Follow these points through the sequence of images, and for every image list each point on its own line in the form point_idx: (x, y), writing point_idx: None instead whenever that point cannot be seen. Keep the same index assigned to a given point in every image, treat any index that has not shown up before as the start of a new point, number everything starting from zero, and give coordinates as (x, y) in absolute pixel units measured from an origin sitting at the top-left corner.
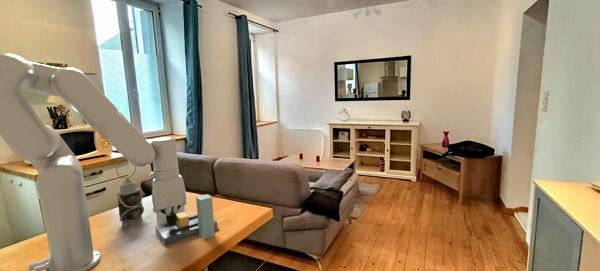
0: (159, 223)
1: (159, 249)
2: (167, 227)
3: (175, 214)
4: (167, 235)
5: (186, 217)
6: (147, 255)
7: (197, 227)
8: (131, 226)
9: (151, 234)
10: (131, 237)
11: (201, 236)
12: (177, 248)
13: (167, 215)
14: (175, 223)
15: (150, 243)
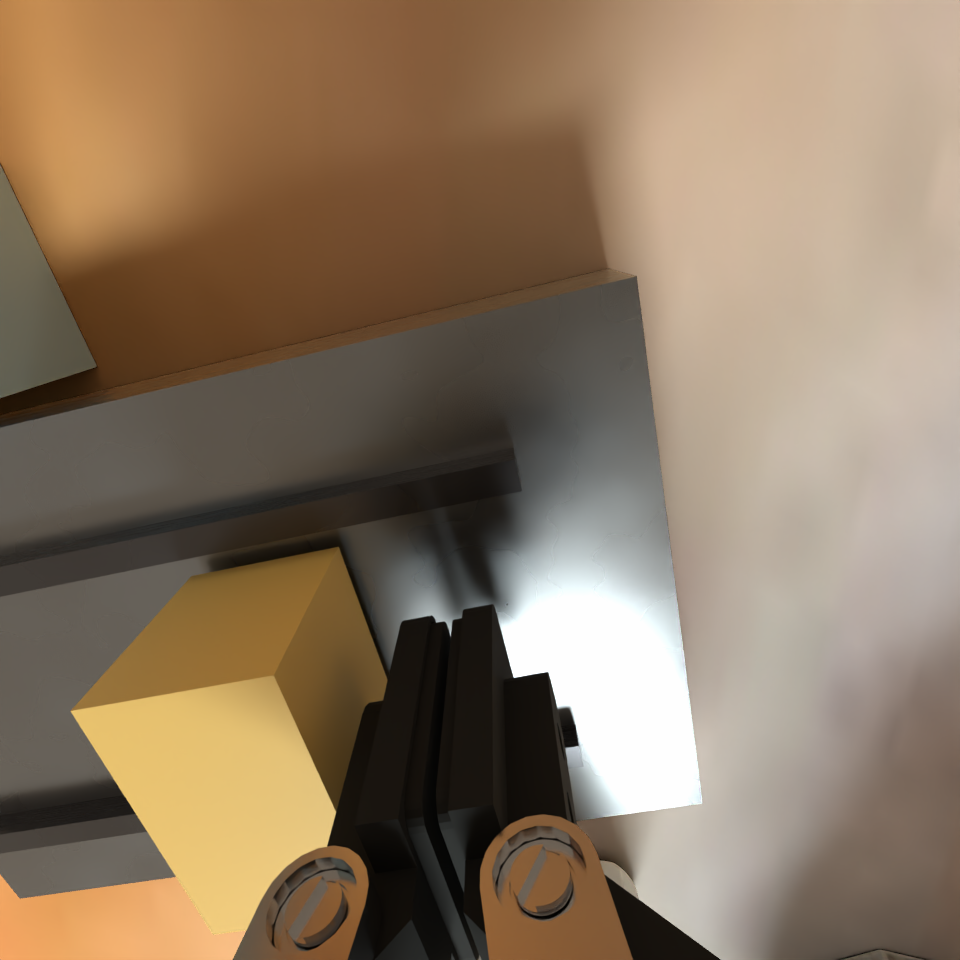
0: (618, 883)
1: (702, 189)
2: None
3: (346, 839)
4: (569, 393)
5: (128, 687)
6: (909, 63)
7: (38, 446)
8: (890, 955)
9: (729, 703)
10: (950, 738)
11: (31, 259)
12: (426, 50)
13: (561, 829)
14: (400, 633)
15: (785, 468)
